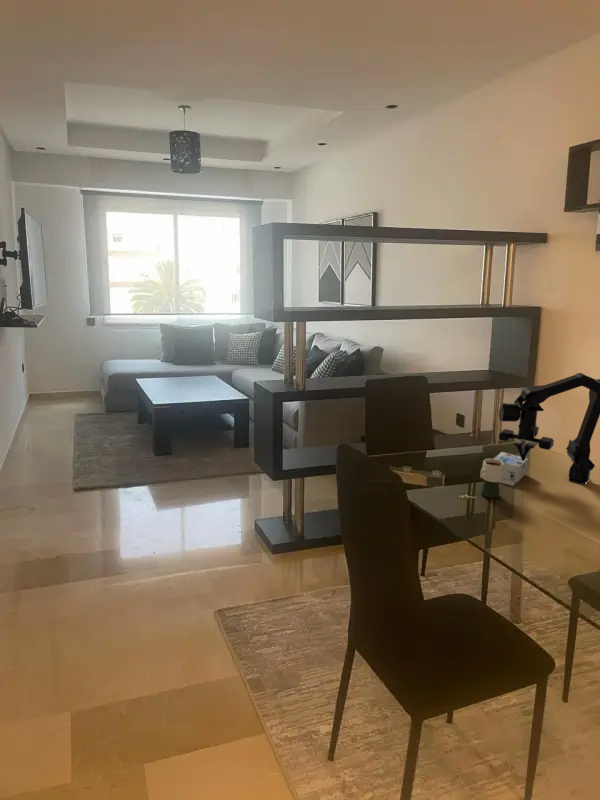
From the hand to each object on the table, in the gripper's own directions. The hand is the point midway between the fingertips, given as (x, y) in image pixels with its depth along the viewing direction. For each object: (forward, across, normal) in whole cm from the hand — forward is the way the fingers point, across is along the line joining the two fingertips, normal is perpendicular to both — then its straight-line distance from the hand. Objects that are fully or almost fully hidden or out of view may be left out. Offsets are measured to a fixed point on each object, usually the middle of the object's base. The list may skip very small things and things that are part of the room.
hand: (523, 460), depth 227 cm
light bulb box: (+4, -1, 0) cm, 4 cm away
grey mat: (+8, +7, 0) cm, 10 cm away
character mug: (+8, +5, +21) cm, 23 cm away
